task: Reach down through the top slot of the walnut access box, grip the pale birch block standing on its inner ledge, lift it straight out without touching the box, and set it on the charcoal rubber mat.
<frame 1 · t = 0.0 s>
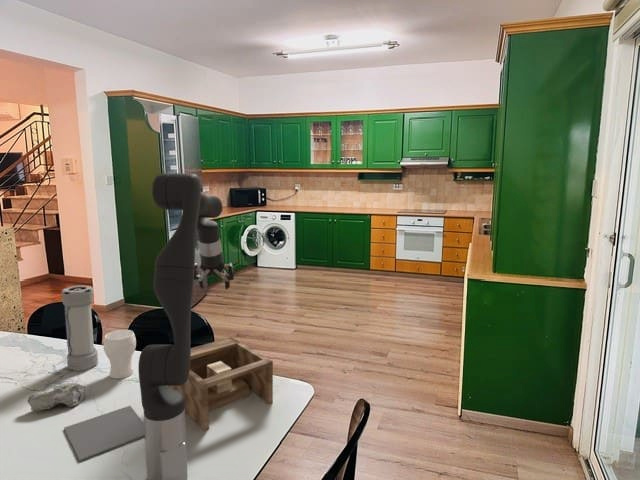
hand: (215, 287, 154), 31 cm above the table, tool tilted 20°, fingers open, 8 cm apart
access box: (219, 398, 139), on the table
block: (219, 387, 138), point 4 cm above the table, touching access box
rock: (61, 406, 133), on the table
cup: (121, 374, 154), on the table
canister: (83, 366, 160), on the table
mat: (107, 431, 120), on the table
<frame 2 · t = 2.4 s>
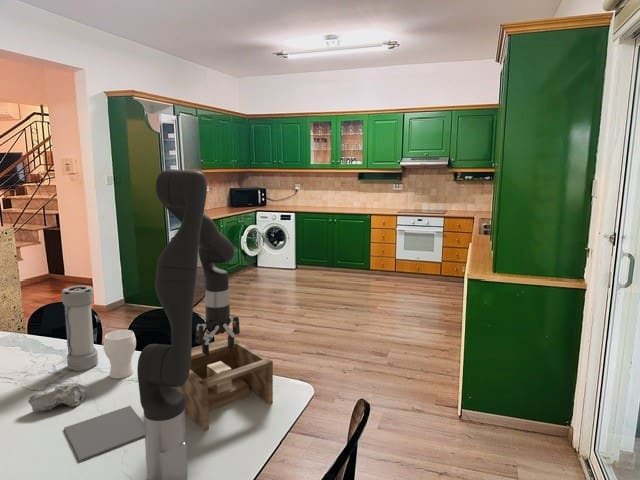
hand: (218, 351, 136), 16 cm above the table, tool pointing down, fingers open, 8 cm apart
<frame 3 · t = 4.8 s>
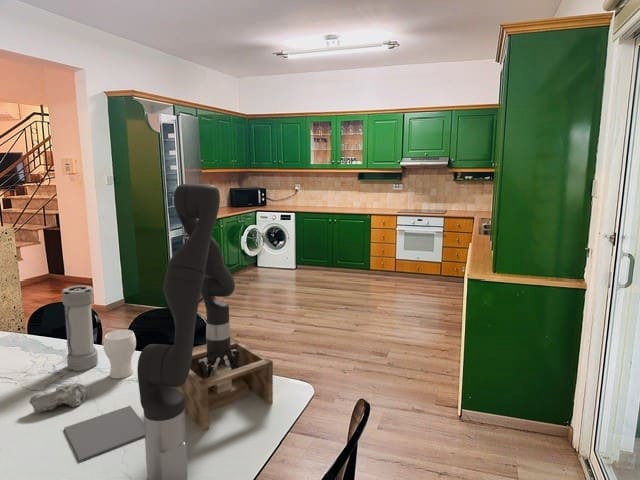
hand: (219, 384, 138), 5 cm above the table, tool pointing down, fingers closed on block, 5 cm apart
block: (219, 387, 138), point 4 cm above the table, touching access box, gripper
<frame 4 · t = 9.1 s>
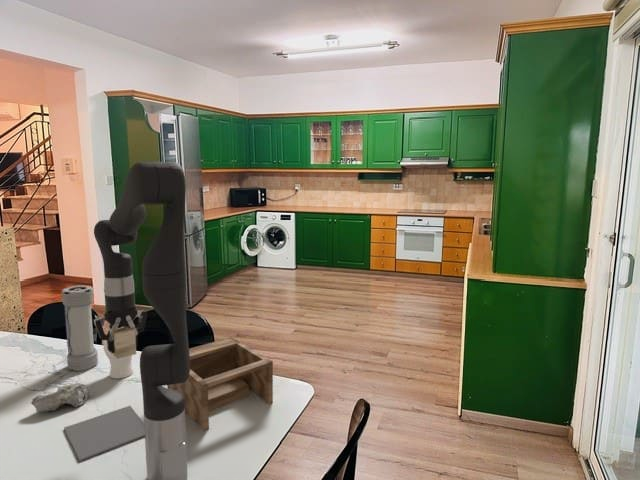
hand: (123, 349, 120), 23 cm above the table, tool pointing down, fingers closed on block, 5 cm apart
block: (123, 352, 120), point 23 cm above the table, touching gripper
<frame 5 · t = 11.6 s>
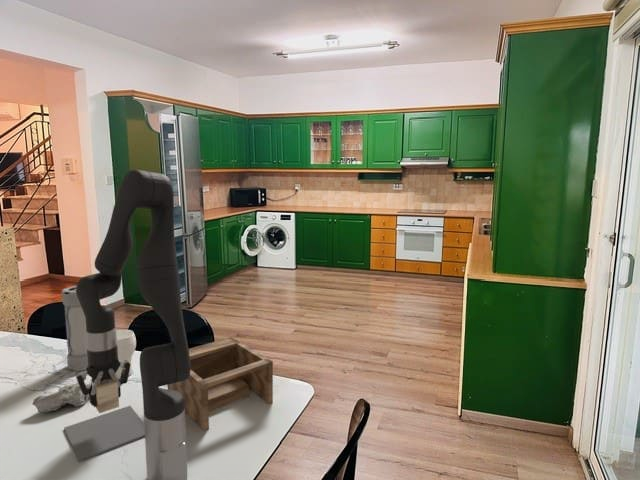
hand: (105, 401, 119), 9 cm above the table, tool pointing down, fingers closed on block, 5 cm apart
block: (105, 404, 119), point 8 cm above the table, touching gripper
when the fingers open (3 cm above the table, at t = 13.7 s): block drops 2 cm, resting on mat.
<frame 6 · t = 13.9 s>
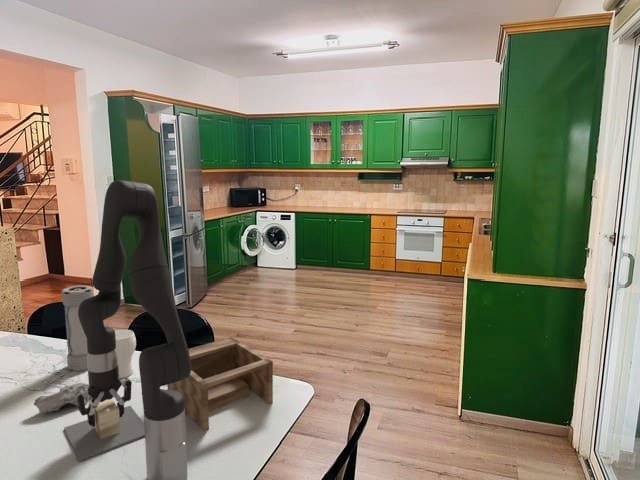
hand: (106, 420, 120), 3 cm above the table, tool pointing down, fingers open, 6 cm apart
block: (107, 429, 120), point 1 cm above the table, touching mat
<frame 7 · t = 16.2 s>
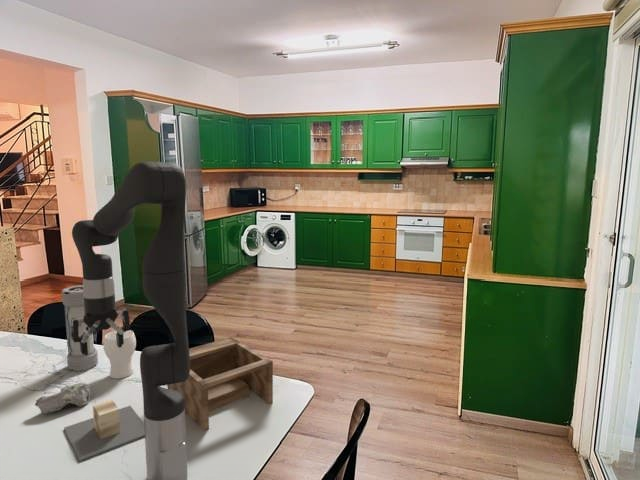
hand: (102, 350, 117), 24 cm above the table, tool pointing down, fingers open, 8 cm apart
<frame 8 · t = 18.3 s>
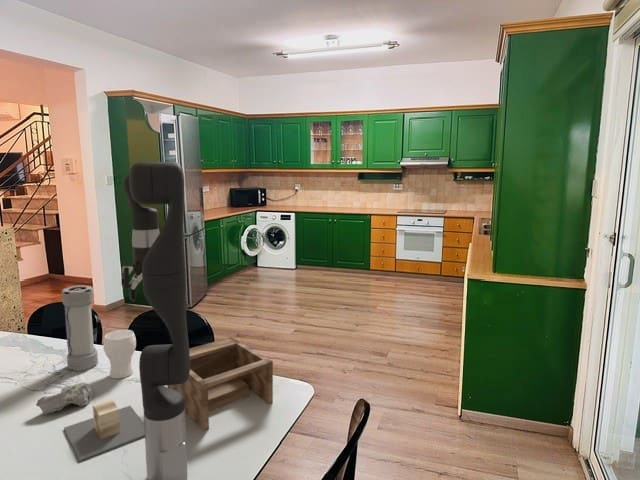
hand: (149, 298, 125), 36 cm above the table, tool pointing down, fingers open, 8 cm apart
at the end: block inside the target area on the mat (0.1 cm from its centre), point 0.6 cm above the mat's base; block tilted 0°; the gripper is holding nothing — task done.
